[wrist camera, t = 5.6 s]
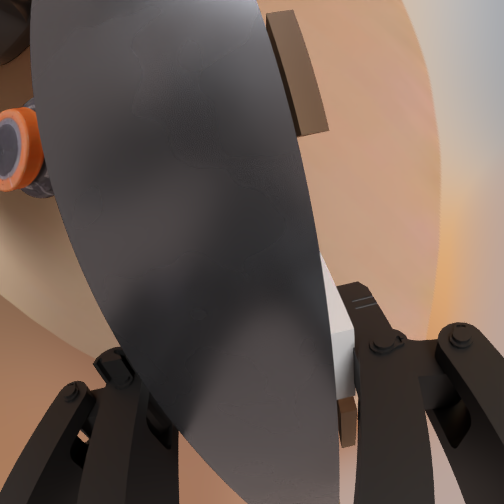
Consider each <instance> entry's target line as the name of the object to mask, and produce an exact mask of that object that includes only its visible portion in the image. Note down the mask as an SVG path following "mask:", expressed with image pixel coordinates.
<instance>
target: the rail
mask: <svg viewBox="0 0 504 504" xmlns="http://www.w3.org/2000/svg"><path fill="white" fill-rule="evenodd" d="M30 58H31V75H32V86H33V95H34V103H35V110H36V117H37V123H38V129H39V134H40V139H41V144H42V149H43V153H44V158H45V162H46V166H47V170H48V174H49V178H50V181H51V185H52V188H53V192H54V195H55V198H56V202H57V205H58V208H59V211H60V214H61V217H62V220H63V223H64V226H65V228H66V231H67V234H68V237H69V239H70V242H71V244H72V247H73V250H74V252H75V255H76V257H77V259H78V262H79V264H80V266H81V269H82V271H83V273H84V276H85V278H86V280H87V282H88V284H89V287H90V289H91V291H92V293H93V295H94V297H95V299H96V301H97V303H98V305H99V307H100V309H101V311H102V313H103V315H104V317H105V319H106V321H107V323H108V324H109V326H110V328H111V330H112V332H113V334H114V335H115V337H116V339H117V341H118V342H119V344H120V346H121V347H122V349H123V351H124V353H125V354H126V356H127V357H128V359H129V361H130V362H131V364H132V366H133V367H134V369H135V370H136V372H137V373H138V375H139V376H140V378H141V379H142V381H143V382H144V384H145V385H146V387H147V388H148V390H149V391H150V393H151V394H152V396H153V397H154V398H155V400H156V401H157V403H158V404H159V405H160V407H161V408H162V409H163V411H164V412H165V413H166V415H167V416H168V417H169V419H170V420H171V421H172V423H173V424H174V425H175V426H176V428H177V429H178V430H179V431H180V433H181V434H182V435H183V436H184V437H185V439H186V440H187V441H188V442H189V443H190V445H191V446H192V447H193V448H194V449H195V450H196V452H197V453H198V454H199V455H200V456H201V457H202V458H203V459H204V461H206V463H207V464H208V465H209V466H210V467H211V468H212V469H213V470H214V471H215V472H216V473H217V474H218V475H219V476H220V477H221V478H222V480H224V482H226V484H228V485H229V486H230V487H231V488H232V489H233V490H234V491H235V492H236V493H237V494H238V495H239V496H240V497H241V498H242V499H243V500H244V501H246V502H247V503H248V504H340V501H339V437H338V414H337V397H336V383H335V371H334V360H333V350H332V340H331V331H330V322H329V314H328V306H327V299H326V291H325V284H324V277H323V271H322V264H321V258H320V251H319V245H318V240H317V234H316V228H315V223H314V217H313V212H312V206H311V201H310V196H309V191H308V186H307V182H306V177H305V172H304V167H303V163H302V158H301V154H300V150H299V145H298V141H297V137H296V133H295V129H294V124H293V120H292V117H291V113H290V109H289V105H288V101H287V97H286V94H285V90H284V86H283V83H282V79H281V76H280V72H279V69H278V65H277V62H276V59H275V55H274V52H273V49H272V46H271V42H270V39H269V36H268V33H267V30H266V27H265V24H264V21H263V18H262V15H261V12H260V9H259V7H258V4H257V1H256V0H32V4H31V20H30Z"/></svg>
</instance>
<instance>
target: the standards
mask: <svg viewBox="0 0 504 504" xmlns="http://www.w3.org/2000/svg"><path fill="white" fill-rule="evenodd" d="M266 30H267V33H268V36H269V39H270V42H271V46H272V49H273V52H274V55H275V59H276V62H277V65H278V69H279V72H280V76H281V79H282V83H283V86H284V90H285V94H286V97H287V101H288V105H289V109H290V113H291V117H292V120H293V124H294V129H295V133H296V137H297V138H298V137H302V136H306V135H311V134H315V133H320V132H325V131H329V128H328V123H327V119H326V115H325V111H324V107H323V103H322V99H321V96H320V92H319V88H318V85H317V81H316V78H315V74H314V71H313V67H312V64H311V61H310V58H309V54H308V51H307V48H306V45H305V42H304V39H303V36H302V33H301V30H300V28H299V25H298V22H297V19H296V17H295V14H294V11H293V10H287V11H280V12H273V13H267V14H266ZM337 414H338V430H339V435H340V441H341V446H342V448H344V447H348V446H353V445H355V439H356V419H357V408H356V404H355V401H354V397H353V396H351V397H347V398H343V399H338V400H337Z"/></svg>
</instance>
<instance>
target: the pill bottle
mask: <svg viewBox="0 0 504 504" xmlns="http://www.w3.org/2000/svg"><path fill="white" fill-rule="evenodd" d="M15 189H21V190H22V191H23V192H25V193H26V194H28V195H30V196H32V197H36V198H48V197H51V196H54V192H53V188H52V185H51V181H50V178H49V174H48V170H47V166H46V162H45V158H44V153H43V149H42V144H41V139H40V134H39V129H38V123H37V117H36V110H35V103H34V97H33V98H31V99H30V100H29V101H28V102H26V103H25V104H24V105H23V107H20V108H13V109H7V110H5V111H3V112H1V113H0V191H3V192H9V191H12V190H15Z"/></svg>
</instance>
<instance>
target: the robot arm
mask: <svg viewBox="0 0 504 504" xmlns="http://www.w3.org/2000/svg"><path fill="white" fill-rule="evenodd" d="M31 4H32V0H0V65H3V64H5V63H7V62H9V61H11V60H12V59H14V58H15V57H16V56H18V55H19V54H20V53H21V52H22V51H23V50H25V49H26V48H27V47H28V46H29V44H30V20H31ZM320 258H321V264H322V271H323V277H324V284H325V291H326V299H327V306H328V314H329V322H330V331H331V340H332V350H333V360H334V371H335V383H336V397H337V400H338V399H343V398H347V397H351V396H355V387H356V391H357V394H358V450H357V469H356V483H355V494H354V504H435V499H434V480H433V467H432V457H431V448H430V441H429V433H428V427H427V421H426V415H425V411H426V413H427V415H428V417H429V419H430V422H431V423H432V426H433V428H434V430H435V432H436V434H437V436H438V438H439V440H440V443H441V445H442V447H443V449H444V452H445V454H446V456H447V458H448V461H449V463H450V465H451V468H452V470H453V472H454V475H455V477H456V480H457V482H458V485H459V487H460V490H461V493H462V495H463V498H464V501H465V503H466V504H504V358H503V357H502V355H501V354H500V353H499V352H498V351H497V350H496V348H494V346H493V345H492V344H491V343H490V341H489V340H488V339H487V338H486V337H485V336H484V335H483V334H482V333H481V332H480V330H478V329H477V328H476V327H474V326H473V325H470V324H467V323H459V322H457V323H452V324H449V325H447V326H446V327H444V328H443V329H442V330H441V331H440V333H439V335H438V339H435V340H422V341H416V340H409V339H407V337H406V336H405V335H404V334H403V333H402V332H400V331H398V330H395V329H392V327H391V325H390V324H389V322H388V320H387V319H386V317H385V315H384V314H383V312H382V310H381V308H380V307H379V305H378V304H377V302H376V300H375V299H374V297H373V296H372V294H371V292H370V291H369V289H368V287H366V286H364V285H363V284H361V283H359V282H354V283H349V284H345V285H341V286H335V283H334V281H333V279H332V277H331V274H330V272H329V270H328V268H327V266H326V264H325V261H324V259H323V257H322V255H321V253H320ZM93 365H94V367H95V368H96V370H97V371H98V373H99V374H100V375H101V377H102V378H103V380H104V381H105V382H106V387H104V388H101V389H97V390H92V391H90V390H89V388H88V387H87V386H86V384H85V383H84V382H81V381H74V382H72V383H69V384H67V385H66V386H65V387H64V388H63V389H62V390H61V391H60V392H59V394H58V396H57V397H56V398H55V400H54V401H53V403H52V404H51V406H50V407H49V409H48V410H47V412H46V413H45V415H44V417H43V418H42V420H41V422H40V423H39V424H38V426H37V428H36V429H35V431H34V433H33V434H32V436H31V438H30V439H29V441H28V443H27V444H26V446H25V448H24V449H23V451H22V453H21V455H20V456H19V458H18V460H17V462H16V463H15V465H14V467H13V469H12V471H11V473H10V474H9V477H8V478H7V480H6V482H5V484H4V486H3V488H2V490H1V492H0V504H179V480H178V479H179V478H178V434H179V432H178V431H179V430H178V429H177V428H176V426H175V425H174V424H173V423H172V421H171V420H170V419H169V417H168V416H167V415H166V413H165V412H164V411H163V409H162V408H161V407H160V405H159V404H158V403H157V401H156V400H155V398H154V397H153V396H152V394H151V393H150V391H149V390H148V388H147V387H146V385H145V384H144V382H143V381H142V379H141V378H140V376H139V375H138V373H137V372H136V370H135V369H134V367H133V366H132V364H131V362H130V361H129V359H128V357H127V356H126V354H125V353H124V351H123V349H122V347H115V348H112V349H109V350H107V351H105V352H104V353H102V354H101V355H100V356H99V357H97V358H96V360H95V361H94V363H93ZM80 430H81V431H82V432H83V433H84V434H85V435H86V436H87V437H88V438H89V440H88V441H87V442H85V443H84V442H83V441H82V440H81V439H80V438H79V437H78V436H77V435H78V433H79V431H80Z"/></svg>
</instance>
